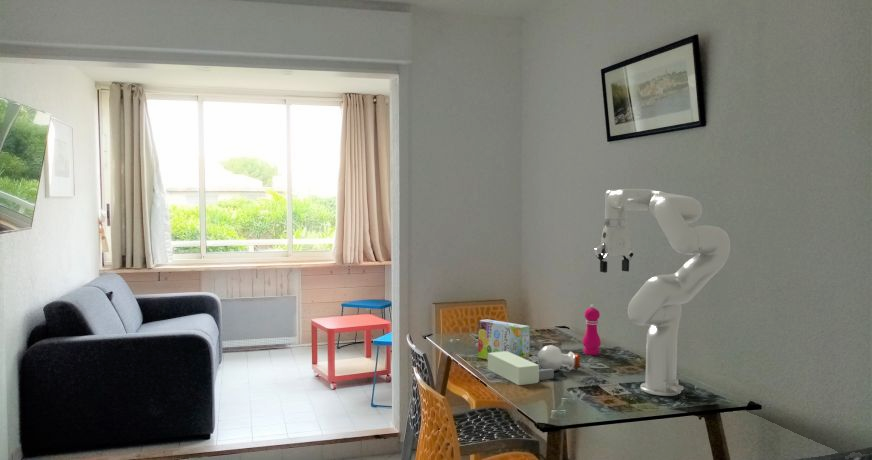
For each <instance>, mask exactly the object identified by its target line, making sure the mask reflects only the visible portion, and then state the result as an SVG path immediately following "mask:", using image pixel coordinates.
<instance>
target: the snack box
mask: <svg viewBox="0 0 872 460" xmlns="http://www.w3.org/2000/svg"><path fill="white" fill-rule="evenodd" d="M530 328H531V326H530V325H526V324H518V323H513V322H507V321H501V320H500V321H499V320H493V319H480V320H478V345H477V347H478V351H477V352H478V353H477V354H478V355H477V358H479V359H483V360H487V361H488V353H493V352H503V351H508V352H510V353H512V354H515V355H517V356H519V357H521V358H524V359H530V340H531V339H530V336H531V335H530V334H531V333H530V332H531V329H530Z"/></svg>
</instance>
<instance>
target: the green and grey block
mask: <svg viewBox="0 0 872 460" xmlns="http://www.w3.org/2000/svg"><path fill="white" fill-rule="evenodd" d="M487 370H489V371H490V372H493V374H496V375H497V376H500V377H502V378H504V379H506V380H508V381H509V382H511V383H513V384H516V385H517V386H522V385H533V384H539V383H540V380H539V379H541V380H549V379H554V377H555V376H554V375H555V371H554V369H552V368H551V369H542V368H541V369H540V365H539V364H538V363H535V362H533V360H532V359H531V358H529V359H524V358H521V357H519V356H517V355H515V354H512V353H510V352H508V351H503V352H493V353H488V360H487ZM538 382H539V383H538Z"/></svg>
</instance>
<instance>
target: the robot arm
mask: <svg viewBox="0 0 872 460" xmlns="http://www.w3.org/2000/svg"><path fill="white" fill-rule="evenodd" d="M604 199H605V200H604V201H605V202H604V207H605V208H604V220H603V221H602V224H603V226H604V227H603V229H602V233H601V238H600V239H601V242H600V244H599V245H598V246H596V247H595V248H594V249H593V250H594V253H595V256H596V258H597V259H598V261H599V272H600V273H607V272H608V261H607V260H608V258H609V257H621V258H622V260H621V271H622V272H630V261H631V260H632V257H633V256H634V253H635V251H636V247H634V246H633V245H632V244H631V237H630V235H631V234H630V230H629V228H628V227H627V218H628V213H627V212H628V211H645V212H650V214H651V215H652V216H653V217H654V218H655V219H656V221H657V223H658V225H659V227H660V229H661V230H662V233H663V234H664V235H665V236H664V237H665V238H666V239H667V241H668V242H669V244H670V246H671V247H672V249H673V250H674V251H675V252H677V253H678V254H681V255H694V256H693V257H691V258H689V259H688V260H686V261H685V263H683V264H682V266H681V267H680V268H679V269H678V270H677V271H676V272H674V273H670V274H659V275H655V276H652V277H650V278H649V279H647V280H646V281H645V282H644V284H643V285H642V286H641V287H640V288H639V290H638V291H637V292H636V293H635V295H634V296H633V297H632V298H631V299H630V301H629V303H628V306H627V316H628V318H629V320H630V321H631V322H632V323H633V324H634V325H637V326H639V327H641V326H643V327H645V326H648V327H649V328H648V329H647V332H646V343H645V350H646V351H645V379H644V380H645V382H643V383H641V384H640V390H641V391H642V392H643V393H647V394H650V395H653V396H654V395H655V396H659V397H660V396H663V397H675V396H679V395H680V394H681V393H682V391H683V390H684V388H685V387H684V385H680V384H679V380H680V379H677V365H678V364H677V362H678V361H677V360H678V359H677V358H678V335H679V334H678V333H679V327H680V322H681V318H682V305H684V304H687V303H689V302H690V301H691V300H692V299H693V298H694V297H695V296H696V295H697V294H698V293H699V292H700V291H701V289H703V288H704V286H705V285H706V284H707V283H708V282H709V281H710V279H713V277H714V276H715V275H717V273H718V272H719V271H720V270H721V269H723V267H724V266H725V264H726V262H727V260H728V259H729V256H730V252H731V240H730V237H729V235H728V233H727V232H726V231H725V230H724V229H723V228H721V227H719V226H715V225H688V224H693V223H694V222H696V221H698V220H699V219H700V217H701V216H702V214H703V206H702V205H701V202H700V201H699V200H698V199H696V198H694V197H692V196H686V195H682V194H676V193H669V192H664V191H661V190H655V189H648V188H622V189H608V190H606V192H605V198H604ZM678 394H679V395H678Z"/></svg>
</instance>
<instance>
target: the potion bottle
mask: <svg viewBox="0 0 872 460" xmlns="http://www.w3.org/2000/svg"><path fill="white" fill-rule="evenodd" d="M580 359H581V357H580V354H578V353H577V352H576V353H574V352H572V350H570V351H569V352H567V353H563V352H562V350H561V349H560V348H559V347H558V346H555V345H552V344H549V345H545V346H542V348H540V350H539V351H538V353H537V359H536V360H537V364H538V365H539V367H540V368H541V370H542V369H551V368H552V369H554V372H555V371H558V370H559V369H560V368H561V367H566V368H568V369H569V371H571V370H572V369H574V370H575V371H577V370H578V369H579V368H580V362H581V360H580Z"/></svg>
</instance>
